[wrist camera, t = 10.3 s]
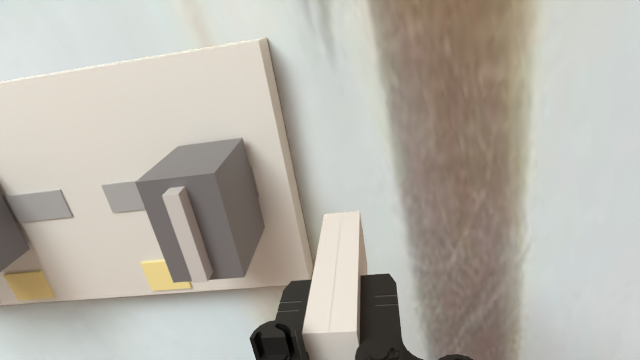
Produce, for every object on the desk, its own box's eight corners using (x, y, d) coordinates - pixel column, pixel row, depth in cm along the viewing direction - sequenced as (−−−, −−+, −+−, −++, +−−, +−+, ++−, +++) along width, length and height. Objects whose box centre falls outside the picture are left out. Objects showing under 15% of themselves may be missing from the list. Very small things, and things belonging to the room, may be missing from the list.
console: (-97, 297, 35) (-124, 315, 33) (-228, 118, 28) (-272, 128, 26) (313, 265, 29) (309, 285, 27) (266, 37, 23) (257, 41, 21)
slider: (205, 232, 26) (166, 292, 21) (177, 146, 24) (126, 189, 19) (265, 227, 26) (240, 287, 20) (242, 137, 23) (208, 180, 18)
